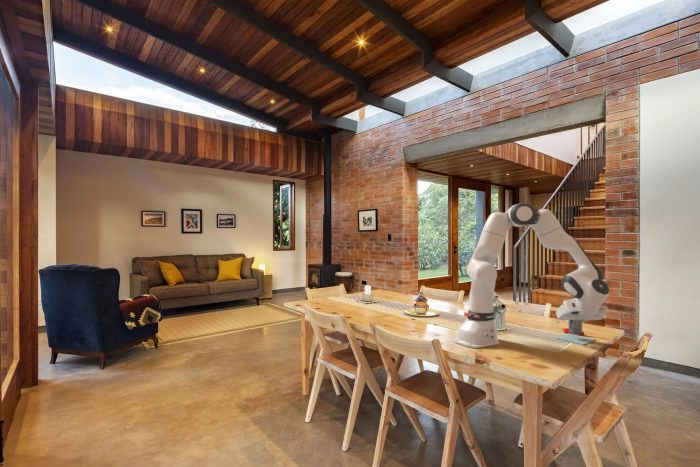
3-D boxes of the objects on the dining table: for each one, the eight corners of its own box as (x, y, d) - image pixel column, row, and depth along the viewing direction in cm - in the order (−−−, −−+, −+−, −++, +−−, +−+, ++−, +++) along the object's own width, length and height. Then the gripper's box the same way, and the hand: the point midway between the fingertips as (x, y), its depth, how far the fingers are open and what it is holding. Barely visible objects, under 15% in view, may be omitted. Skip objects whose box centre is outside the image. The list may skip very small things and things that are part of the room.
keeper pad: (583, 345, 160) (583, 344, 160) (556, 338, 169) (555, 337, 169) (595, 340, 167) (595, 339, 167) (568, 334, 177) (568, 333, 177)
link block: (582, 333, 166) (581, 315, 166) (573, 333, 166) (572, 314, 166) (577, 331, 170) (577, 313, 170) (568, 331, 170) (568, 312, 170)
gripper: (606, 300, 160) (594, 316, 170) (560, 300, 162) (550, 316, 172) (613, 312, 156) (599, 328, 165) (565, 312, 157) (555, 327, 167)
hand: (574, 322), depth 169 cm, fingers closed on link block, 4 cm apart
